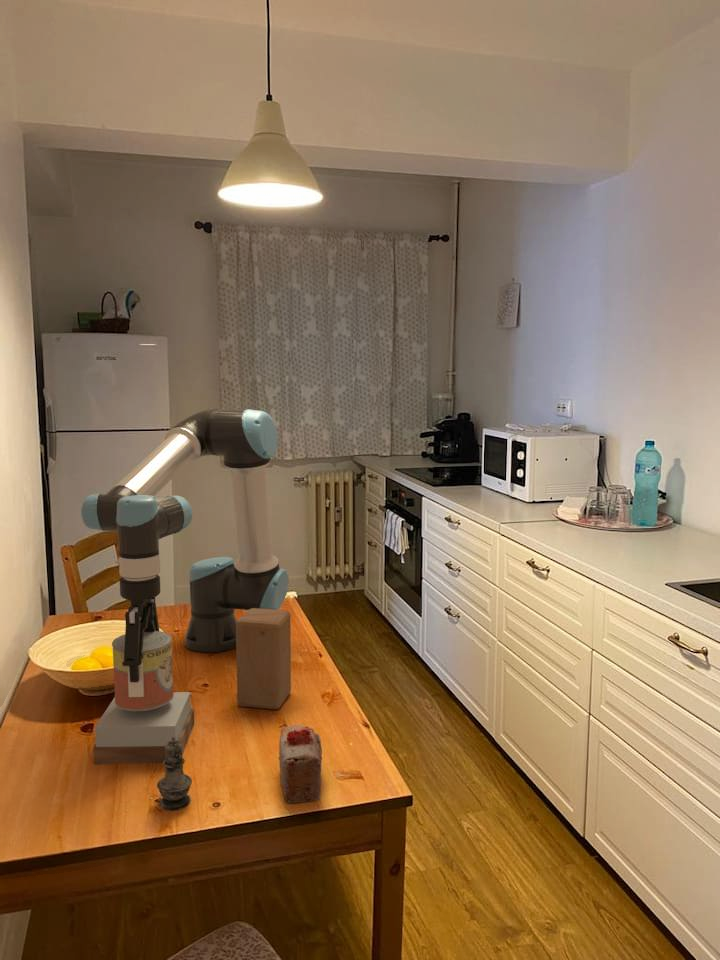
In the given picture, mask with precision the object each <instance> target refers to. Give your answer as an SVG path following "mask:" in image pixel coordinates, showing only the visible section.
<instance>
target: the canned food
mask: <svg viewBox="0 0 720 960" xmlns="http://www.w3.org/2000/svg"><path fill="white" fill-rule="evenodd" d="M172 641H173V637H172V636H171V634H169V633H167V632H165V631H155V632H144V639H143V648H142V658H141V663H143V678H144V696H143V697H129V690H128V667H127V666H124V665H123V664H122V662H124V649H125V633H124V634H121V635H120V636H117V637H116V638H115V639H114V640H112V643H111V647H112V661H113V680H114V681H113V683H114V687H113V688H114V697H115V705H116V706H117V707H119V708H121V709H123V710H128V711H146V710H152V709H156V708H159V707H162V706H164V705H166V704H167V703H169V702H170V701H171V700H172V699H173V697H174V693H173V692H174V679H173V678H174V674H173V648H172V645H173V644H172ZM131 659H133V658H131Z"/></svg>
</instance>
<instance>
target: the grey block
mask: <svg viewBox="0 0 720 960" xmlns="http://www.w3.org/2000/svg"><path fill="white" fill-rule="evenodd" d="M173 693H174V697H173V699H172V700H171V701H170V702H169V703H167V704H166V705H164V706H162V707H159V708H156V709H152V710H146V711H128V710H123V709H121V708H119V707H117V706H116V705H115V696H114V697H113V699H112V701H111V702H110V704H109V705H108V706H107V708H106V710H105V711H104V713H103V714H102V715H101V717H100V719H99V720H98V722H96V725H95V726H94V735H95V736H94V737H95V744H96V747H138V746H166V744H167V743H168V742H169V741H172V740H171V738H172V737H174V738H175V740H177V741H178V740H179V737H180V735H181V733H182V730H183V728H184V725H185V723H186V721H187V718H188V716H189V713H190V711H191V708H192V703H191V702H192V701H191V692H189V691H185V692H183V691H181V692H180V691H179V692H178V691H177V692H176V691H175V692H174V691H173Z"/></svg>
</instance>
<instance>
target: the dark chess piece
mask: <svg viewBox="0 0 720 960" xmlns="http://www.w3.org/2000/svg"><path fill="white" fill-rule="evenodd" d="M171 740H172V741H169V742H168V743H167V744H166V746H165V760H164V762H163V763H162V764H163V766H164V768H165V769H164V771H165V773H164V776H163V777H162V778H160V779H159V780H158V781H157V783H156V788H157V789H158V790H159V791H158V792H159V793H160V796H161V797H162V798H161V799H160V800H159V807H160V808H161V809H162V810H165V811H174V812H175V811H179V810H182V809H184V808H186V807H188V806H189V805H190V803H191V801H192V799H191V797H190V795H189V794H188V793H189V791H190V788H191V785H192V783H193V779H192V777H191V776H189V775H188V774H186V773H184V764H185V762H186V761H185V759H184V758H183V755H182V745H181V743H180V742H179V741H177V740H175V738H174V737H172V738H171Z"/></svg>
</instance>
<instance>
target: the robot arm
mask: <svg viewBox="0 0 720 960" xmlns="http://www.w3.org/2000/svg"><path fill="white" fill-rule="evenodd" d="M278 439H279V438H278V430H277V428H276V424H275V421H274V420H273V418H272V417H271V416H270V415H269V413H268V412H265V411H263V410H255V409H250V408H248V409H245V408H244V409H241V408H239V409H235V408H234V409H233V408H232V409H231V408H230V409H229V408H228V409H227V408H226V409H225V408H223V409H222V408H221V409H220V408H219V409H218V408H211V409H210V408H209V409H205V410H199V411H198V412H195V413H194V414H193V413H192V414H191V415H189V416H188V417H186V418H184V419H183V420H182V419H181V420H180V422H177V423H176V424H175V425H174V426H173V427H172V428H171V429H169V430H168V431H167V433H166V434H165V437H164V441H162V442H161V443H160V444H159V445H158V446H157V447H155V448H154V449H153V451H152V452H151V453H149V455H147V456H146V457H145V458H143V460H142V461H140V462H139V463H138V464H137V465H136V466H135V467H134V468H133V469H132V470H131V471H130V472H129V473H127V474H126V475H125V476H124V477H123V478H122V479H120V481H119V482H118V483H117V484H115V485H114V486H113V487H112V488H111V489H110V490H109V491H108V492H106V493H105V494H103V493H95V494H90V495H88V496H87V497H86V498H85V499H84V501H83V502H82V506H81V511H80V515H81V518H82V523H83V524H84V525H85V527H87V528H88V529H90V530H95V531H96V530H97V531H102V532H116V533H117V540H118V543H117V544H118V559H116V560H115V563H116V564H118V566H119V576H120V578H119V595H120V597H121V598H122V599H125V600H128V601H130V606H129V607H128V609H127V611H125V614H124V617H125V629H124V630H125V632H124V634H125V649H124V662H122V664H123V665H124V666H127V667H128V690H129V697H143V696H144V678H143V663H141V658H142V648H143V639H144V632H155V631H160V626H159V619H158V611H157V610H158V609H157V604H156V597H157V596H159V595H160V593H161V577H160V575H159V574H160V572H161V567H160V566H161V564H160V562H161V561H160V550H159V547H160V546H159V540H160V539H161V540H162V539H163V538H166V537H168V536H171V535H174V534H177V533H179V532H181V531H183V530H185V529H186V528H187V527H188V526H189V525H190V524H191V523H192V519H193V514H194V513H193V509H192V506H191V504H190V502H189V501H188V499H186V498H184V497H183V496H180V495H167V496H165V497H161V498H160V497H155V496H156V495H157V494H159V493H160V491H161V490H163V489H164V487H165V486H167V485H168V483H169V482H170V481H171V480H173V478H175V476H176V475H178V473H179V472H180V471H181V470H182V469H183V468H184V467H185V466H186V465H188V464H191V463H194V462H195V461H197V460H198V459H199V458H201V457H204V456H205V457H206V456H216V457H218V456H220V457H223V459H222V460H223V466H224V468H226V469H227V470H228V471H230V476H231V478H230V479H231V487H232V496H233V499H232V500H233V507H234V517H235V526H236V527H235V528H236V538H237V547H238V557H239V558H237V560H236V561H235V560H234V559H233V558H232V557H230V556H219V557H212V558H211V557H210V558H206V559H202V560H199V561H196V562H195V563H193V564H192V565H191V566H190V569H189V580H188V581H189V596H190V597H189V598H190V599H189V600H190V602H189V603H190V618H189V621H188V622H189V623H188V624H187V625H188V626H187V628H186V632H185V634H184V635H185V636H184V645H185V648H187V649H188V650H190V651H192V652H199V653H221V652H225V651H229V650H232V649H235V648H236V622H237V620H238V619H237V617H236V615H235V610H238V611H239V610H241V611H248V610H249V609H251V608H259V609H272V610H280V608H282V605H283V603H284V602H285V600H286V596H287V594H288V590H289V582H290V581H289V573H288V570H287V569H285V568H280V563H279V561H280V560H279V558H278V557H277V556H276V555H274V554H273V547H272V534H271V524H270V523H271V522H270V509H269V501H268V500H269V498H268V488H267V476H266V468H267V467H268V465H269V464H270V463H271V458H273V457H274V456H275V454H277V450H278V444H279V443H278V441H279V440H278ZM131 658H133V659H131Z"/></svg>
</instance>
